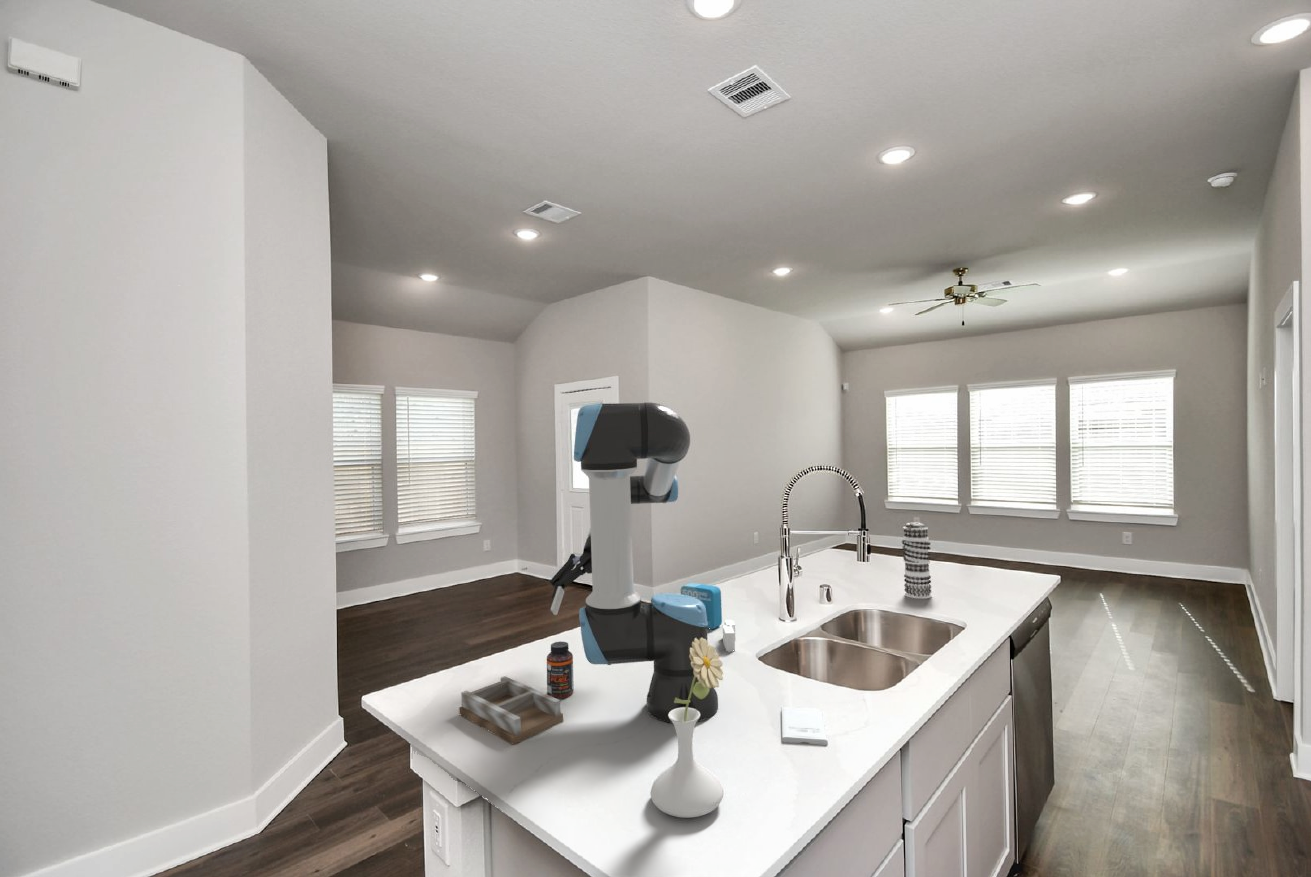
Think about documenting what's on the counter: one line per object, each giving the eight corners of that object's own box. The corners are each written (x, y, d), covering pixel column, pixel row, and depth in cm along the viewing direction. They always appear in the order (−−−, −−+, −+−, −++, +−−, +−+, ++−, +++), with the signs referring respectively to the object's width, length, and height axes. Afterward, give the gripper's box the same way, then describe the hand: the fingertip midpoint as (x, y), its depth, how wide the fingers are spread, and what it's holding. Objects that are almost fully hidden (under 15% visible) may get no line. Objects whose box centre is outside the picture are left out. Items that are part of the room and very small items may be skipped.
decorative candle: (904, 598, 202) (902, 525, 202) (902, 591, 210) (900, 521, 210) (934, 599, 199) (931, 525, 199) (930, 592, 207) (928, 521, 208)
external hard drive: (822, 716, 120) (828, 748, 108) (781, 714, 122) (782, 744, 110) (822, 708, 120) (827, 739, 108) (781, 706, 122) (782, 736, 110)
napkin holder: (735, 657, 154) (735, 635, 154) (699, 649, 161) (698, 628, 161) (763, 641, 166) (762, 620, 166) (728, 634, 173) (727, 614, 173)
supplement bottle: (548, 701, 130) (547, 650, 130) (546, 690, 136) (544, 641, 136) (575, 697, 132) (574, 646, 132) (572, 686, 138) (570, 638, 138)
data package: (681, 624, 182) (679, 585, 182) (689, 620, 186) (688, 582, 186) (714, 630, 175) (713, 590, 175) (722, 626, 178) (721, 586, 178)
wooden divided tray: (563, 721, 121) (562, 699, 121) (513, 745, 112) (512, 721, 112) (508, 695, 134) (507, 675, 134) (459, 714, 125) (458, 693, 125)
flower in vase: (681, 837, 84) (675, 662, 84) (636, 799, 94) (631, 641, 94) (747, 801, 92) (741, 641, 92) (699, 770, 101) (694, 624, 101)
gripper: (648, 550, 158) (630, 624, 143) (563, 548, 165) (538, 618, 151) (640, 534, 152) (622, 609, 138) (553, 532, 160) (527, 603, 146)
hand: (578, 614), depth 144 cm, fingers open, 13 cm apart
